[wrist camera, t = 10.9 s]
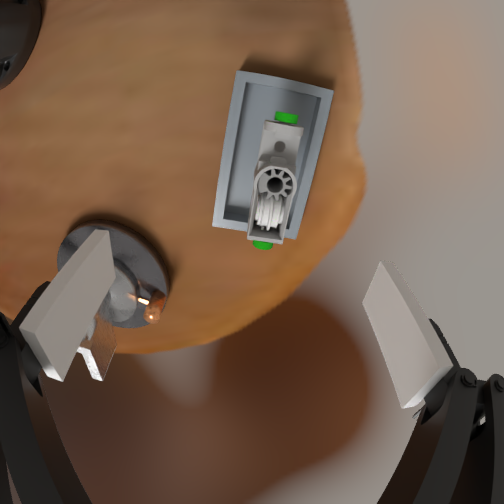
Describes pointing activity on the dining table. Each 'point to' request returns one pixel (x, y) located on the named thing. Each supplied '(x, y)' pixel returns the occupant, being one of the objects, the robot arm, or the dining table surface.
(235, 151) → the tray
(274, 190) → the mechanical component
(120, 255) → the crank base
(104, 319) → the crank
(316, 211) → the dining table surface
